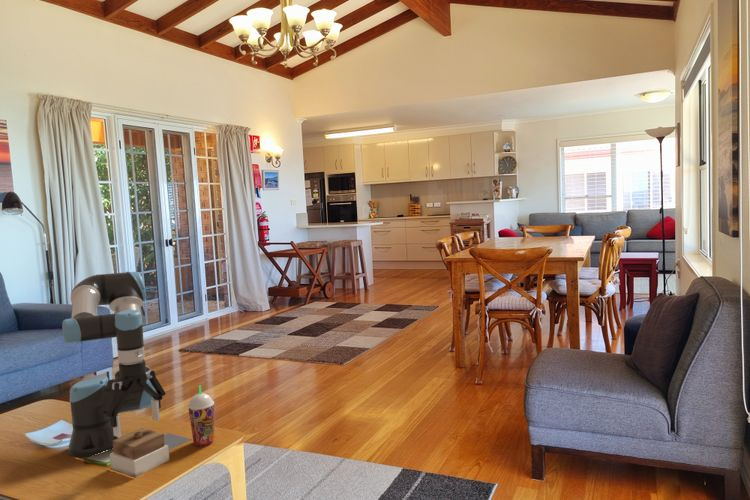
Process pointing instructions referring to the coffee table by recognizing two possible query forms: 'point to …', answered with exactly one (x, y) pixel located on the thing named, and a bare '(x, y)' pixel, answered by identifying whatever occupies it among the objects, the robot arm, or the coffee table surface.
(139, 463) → the dish
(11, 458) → the coffee table surface
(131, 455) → the lid
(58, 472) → the coffee table surface
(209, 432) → the smoothie
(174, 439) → the mat
